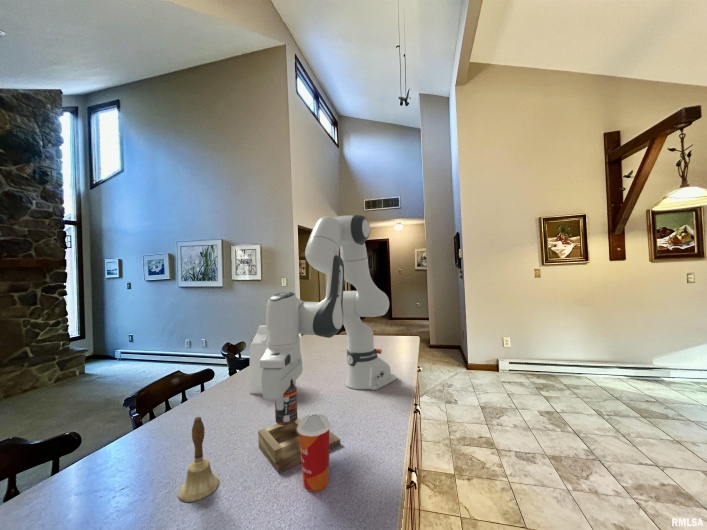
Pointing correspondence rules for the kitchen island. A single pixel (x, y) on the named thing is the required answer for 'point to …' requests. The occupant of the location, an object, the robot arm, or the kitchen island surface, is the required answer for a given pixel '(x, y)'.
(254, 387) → the milk
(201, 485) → the hand bell
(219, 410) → the kitchen island surface
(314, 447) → the paper cup
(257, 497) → the kitchen island surface
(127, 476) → the kitchen island surface
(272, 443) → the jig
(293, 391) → the supplement bottle
